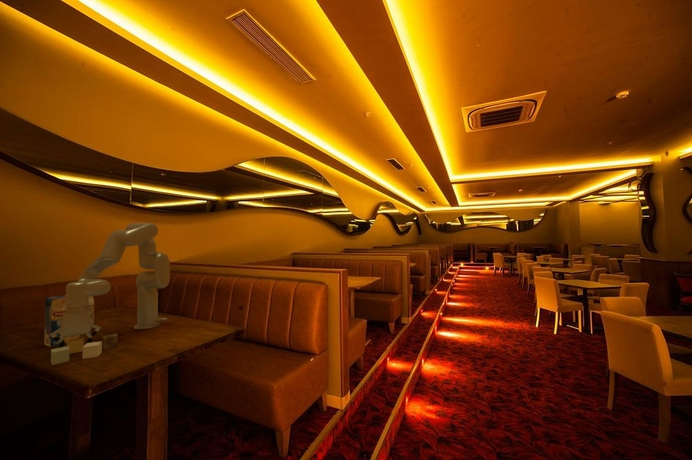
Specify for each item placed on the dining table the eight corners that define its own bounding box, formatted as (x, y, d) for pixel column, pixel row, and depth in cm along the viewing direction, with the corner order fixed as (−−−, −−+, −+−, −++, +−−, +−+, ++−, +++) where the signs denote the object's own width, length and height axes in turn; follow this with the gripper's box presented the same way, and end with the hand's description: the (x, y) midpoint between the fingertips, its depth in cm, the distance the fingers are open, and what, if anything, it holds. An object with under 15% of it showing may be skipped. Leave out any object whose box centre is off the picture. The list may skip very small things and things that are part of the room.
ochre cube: (84, 348, 131) (84, 337, 131) (82, 351, 127) (82, 340, 127) (69, 350, 128) (70, 339, 128) (66, 354, 124) (67, 342, 124)
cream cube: (101, 352, 125) (101, 341, 126) (97, 356, 121) (98, 345, 121) (87, 354, 123) (87, 343, 123) (82, 359, 119) (82, 347, 119)
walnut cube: (116, 343, 136) (116, 333, 136) (117, 346, 132) (117, 335, 132) (102, 346, 132) (102, 335, 133) (103, 349, 129) (103, 338, 129)
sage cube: (67, 357, 120) (68, 346, 120) (69, 361, 117) (69, 349, 117) (50, 361, 116) (51, 349, 116) (51, 365, 113) (52, 352, 113)
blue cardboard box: (80, 339, 142) (81, 295, 143) (50, 346, 132) (51, 299, 133) (73, 337, 145) (74, 294, 145) (43, 344, 135) (45, 298, 136)
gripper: (103, 305, 136) (102, 342, 135) (52, 310, 126) (51, 350, 125) (101, 308, 130) (100, 347, 129) (47, 314, 120) (45, 355, 119)
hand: (75, 348), depth 127 cm, fingers open, 8 cm apart
